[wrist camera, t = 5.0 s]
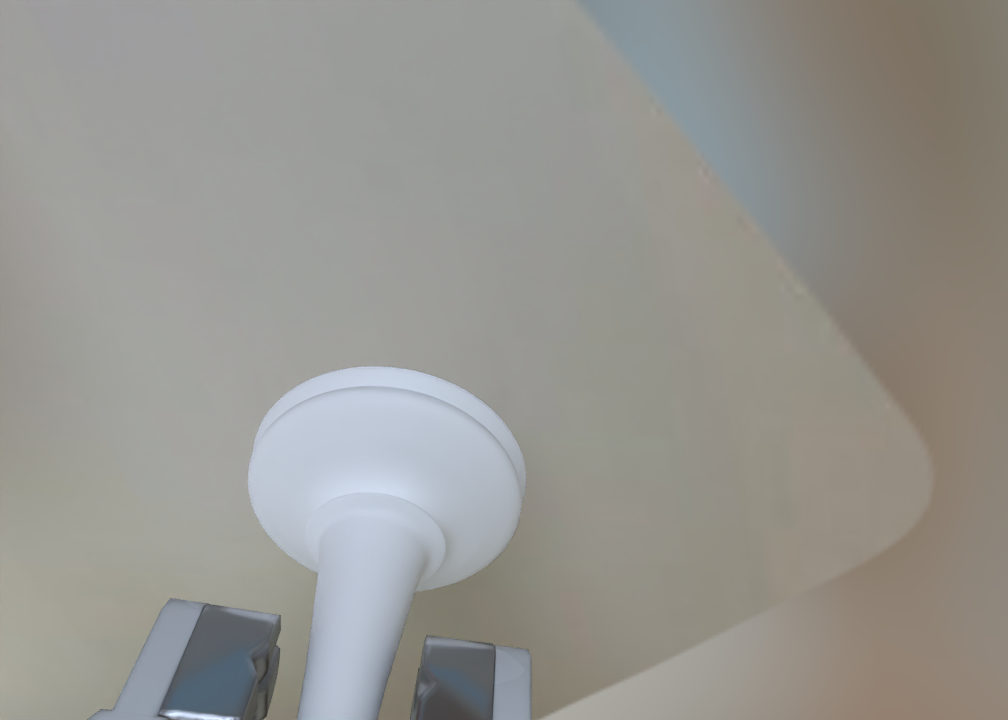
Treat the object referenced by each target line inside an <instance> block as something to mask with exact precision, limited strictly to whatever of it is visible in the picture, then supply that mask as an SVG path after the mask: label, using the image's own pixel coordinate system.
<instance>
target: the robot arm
mask: <svg viewBox="0 0 1008 720" xmlns="http://www.w3.org/2000/svg"><path fill="white" fill-rule="evenodd" d="M280 631H281V615H276V614H270V613H263V612H257V611H250V610H244V609H237V608H231V607H224V606H218V605H211V604H208V603H201V602H194V601H187V600H180V599H173V598H170V599H169V601H168V602H167V603H166V604H165V606H164V607H163V608H162V609H161V611H160V613H159V615H158V617H157V619H156V621H155V623H154V625H153V628H152V630H151V632H150V634H149V636H148V638H147V640H146V642H145V644H144V646H143V648H142V650H141V652H140V654H139V656H138V659H137V661H136V663H135V665H134V667H133V669H132V671H131V673H130V675H129V677H128V679H127V681H126V683H125V685H124V687H123V689H122V692H121V694H120V696H119V698H118V700H117V702H116V704H115V706H114V708H113V710H106V709H100V710H99V711H98V712H97V713H95V714H94V715H93V716H91V717H90V718H89V719H87V720H263V719H264V718H265V717H266V716H267V713H268V710H269V706H270V703H271V699H272V696H273V691H274V687H275V683H276V678H277V674H278V667H279V660H280V648H279V647H278V646H277V645H276V643H277V640H278V637H279V634H280ZM410 720H531V656H530V653H529V650H528V649H522V648H514V647H506V646H497V645H493V644H491V643H483V642H475V641H468V640H460V639H452V638H444V637H436V636H428V635H426V638H425V642H424V646H423V651H422V657H421V664H420V668H419V669H418V674H417V680H416V685H415V690H414V696H413V701H412V708H411V715H410Z"/></svg>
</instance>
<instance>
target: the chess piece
mask: <svg viewBox="0 0 1008 720" xmlns="http://www.w3.org/2000/svg"><path fill="white" fill-rule="evenodd" d="M525 489H526V469H525V464H524V459H523V456H522V453H521V450H520V448H519V445H518V443H517V441H516V439H515V438H514V436H513V434H512V433H511V431H510V430H509V428H508V427H507V425H506V424H505V423H504V422H503V421H502V419H501V418H500V417H499V416H498V415H497V414H496V413H495V412H494V411H493V410H492V409H491V408H490V407H489V406H487V405H486V404H485V403H484V402H482V401H481V400H480V399H478V398H477V397H475V396H474V395H472V394H471V393H469V392H468V391H466V390H464V389H462V388H461V387H459V386H457V385H455V384H453V383H450V382H448V381H446V380H443V379H441V378H438V377H435V376H432V375H429V374H426V373H422V372H418V371H414V370H409V369H403V368H395V367H383V366H367V367H354V368H347V369H342V370H337V371H333V372H329V373H326V374H323V375H320V376H317V377H315V378H312V379H310V380H308V381H306V382H304V383H302V384H300V385H298V386H297V387H295V388H293V389H292V390H290V391H289V392H288V393H286V394H285V395H284V396H283V397H281V398H280V399H279V400H278V401H277V402H276V403H275V404H274V405H273V407H272V408H271V409H270V410H269V411H268V413H267V414H266V416H265V417H264V419H263V421H262V423H261V425H260V427H259V429H258V432H257V434H256V438H255V442H254V448H253V453H252V456H251V460H250V464H249V469H248V490H249V496H250V500H251V504H252V507H253V509H254V511H255V514H256V516H257V518H258V520H259V522H260V523H261V525H262V527H263V528H264V530H265V531H266V532H267V534H268V535H269V536H270V538H271V539H272V540H273V541H274V542H275V543H276V544H277V545H278V546H279V547H280V548H281V549H282V550H283V551H284V552H285V553H287V554H288V555H289V556H290V557H292V558H293V559H294V560H296V561H297V562H299V563H300V564H302V565H303V566H305V567H306V568H308V569H310V570H312V571H314V572H315V573H317V574H318V577H317V586H316V594H315V602H314V609H313V617H312V625H311V633H310V640H309V647H308V653H307V661H306V669H305V675H304V681H303V687H302V692H301V698H300V704H299V710H298V716H297V720H377V718H378V715H379V711H380V707H381V703H382V699H383V695H384V692H385V688H386V685H387V681H388V678H389V675H390V672H391V668H392V665H393V662H394V658H395V655H396V651H397V648H398V645H399V642H400V639H401V636H402V632H403V629H404V626H405V623H406V620H407V616H408V613H409V610H410V607H411V604H412V601H413V598H414V595H415V592H417V591H425V590H431V589H436V588H440V587H444V586H447V585H451V584H454V583H456V582H459V581H461V580H464V579H466V578H468V577H470V576H472V575H474V574H475V573H477V572H479V571H480V570H482V569H483V568H485V567H486V566H487V565H489V564H490V563H491V562H492V561H494V560H495V559H496V558H497V557H498V556H499V555H500V554H501V552H502V551H503V550H504V549H505V548H506V546H507V545H508V543H509V542H510V540H511V538H512V537H513V535H514V533H515V530H516V528H517V525H518V522H519V518H520V513H521V505H522V503H523V499H524V495H525Z"/></svg>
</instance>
